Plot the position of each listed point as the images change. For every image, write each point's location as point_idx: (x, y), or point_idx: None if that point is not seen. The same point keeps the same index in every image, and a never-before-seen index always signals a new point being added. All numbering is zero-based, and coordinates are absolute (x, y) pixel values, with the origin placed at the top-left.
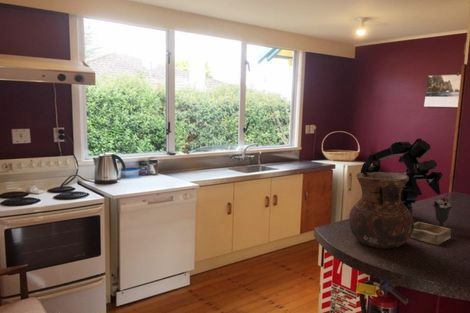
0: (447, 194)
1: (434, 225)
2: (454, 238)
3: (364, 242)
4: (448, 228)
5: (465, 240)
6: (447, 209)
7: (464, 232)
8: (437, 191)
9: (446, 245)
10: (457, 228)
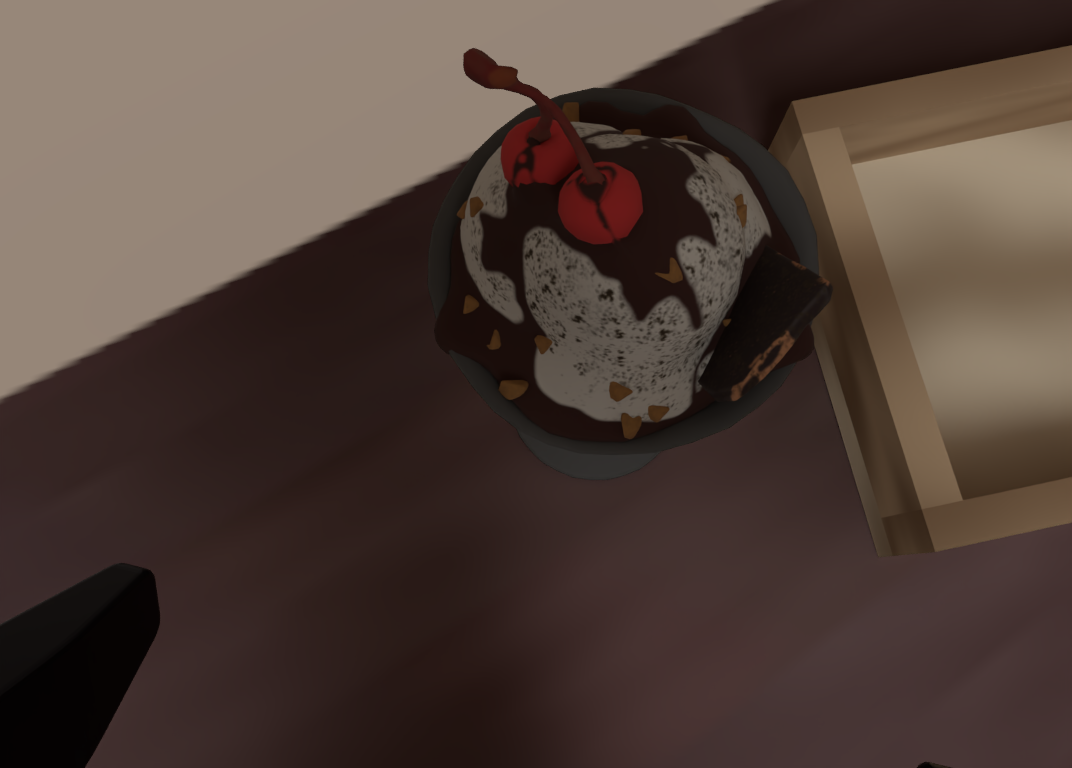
0: (504, 67)
1: (871, 300)
2: None
3: None
4: (805, 131)
5: (669, 53)
6: (680, 131)
7: (370, 219)
8: (88, 680)
9: (1040, 47)
10: (272, 355)
